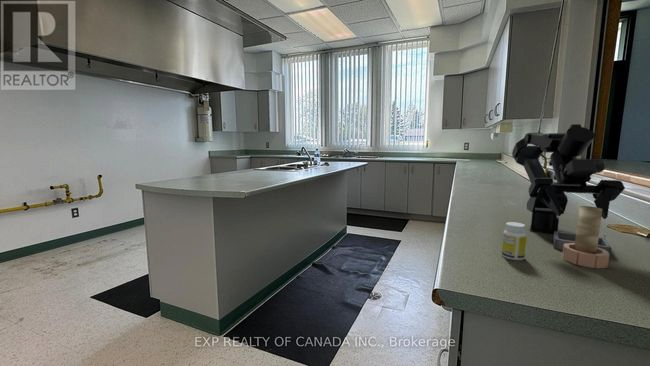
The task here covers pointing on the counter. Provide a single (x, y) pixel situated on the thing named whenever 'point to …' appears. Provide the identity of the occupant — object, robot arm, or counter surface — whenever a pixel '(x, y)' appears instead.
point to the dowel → (588, 229)
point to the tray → (564, 238)
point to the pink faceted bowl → (585, 257)
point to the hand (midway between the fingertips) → (582, 216)
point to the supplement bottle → (514, 241)
